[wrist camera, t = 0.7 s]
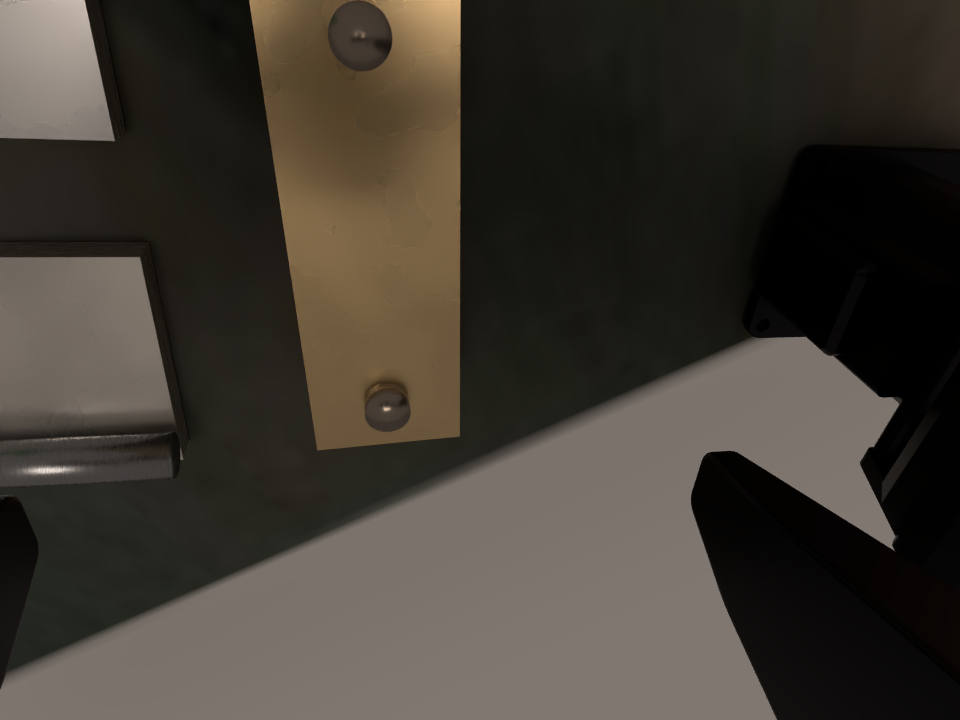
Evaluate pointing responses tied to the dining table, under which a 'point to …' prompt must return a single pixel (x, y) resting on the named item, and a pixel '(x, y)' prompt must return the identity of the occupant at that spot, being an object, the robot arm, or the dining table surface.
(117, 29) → the dining table surface
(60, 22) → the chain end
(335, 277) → the bar
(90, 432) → the chain end
